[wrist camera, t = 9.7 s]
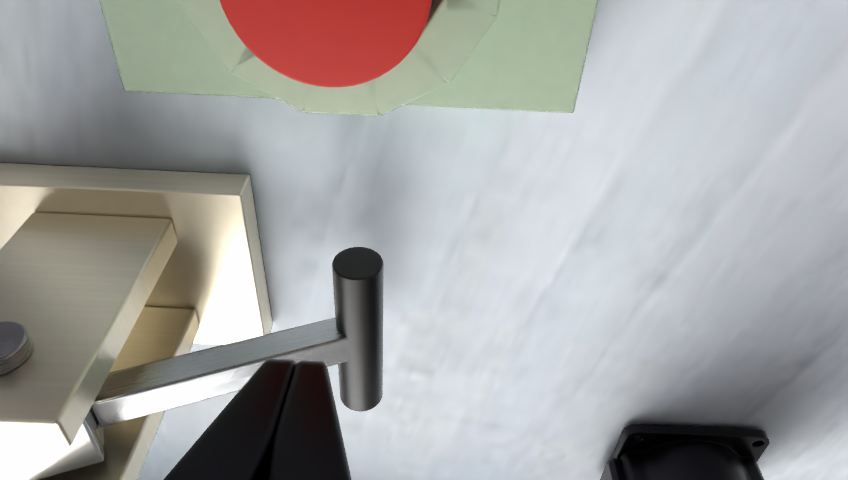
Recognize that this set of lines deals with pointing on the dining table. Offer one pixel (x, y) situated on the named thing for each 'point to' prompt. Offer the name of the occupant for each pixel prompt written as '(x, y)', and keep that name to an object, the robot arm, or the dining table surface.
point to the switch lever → (232, 370)
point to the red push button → (329, 36)
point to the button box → (403, 85)
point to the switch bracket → (116, 292)
